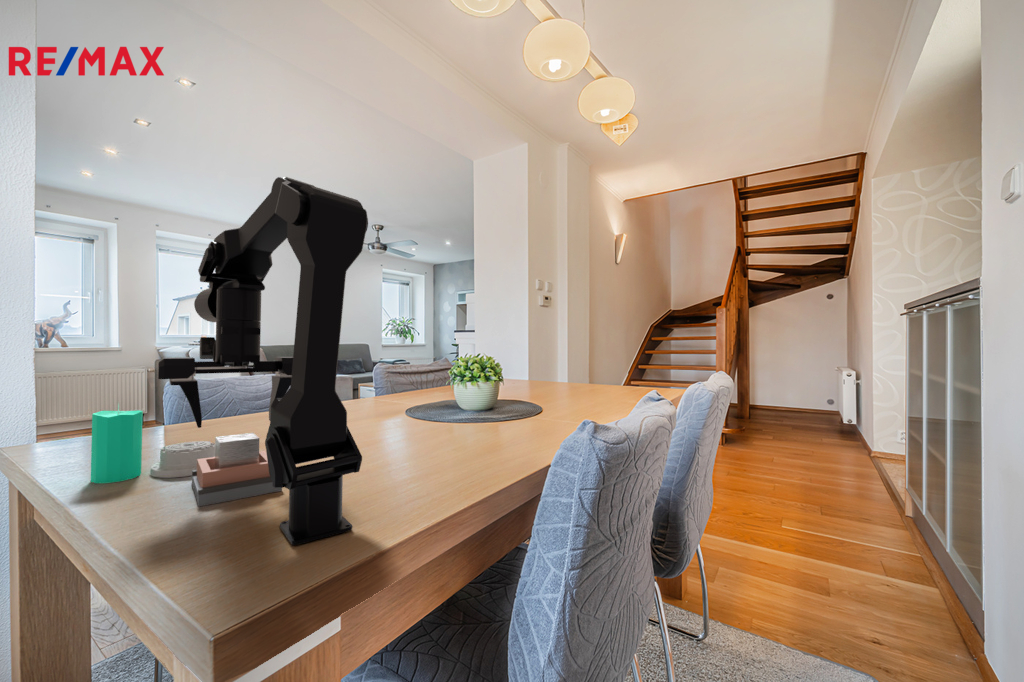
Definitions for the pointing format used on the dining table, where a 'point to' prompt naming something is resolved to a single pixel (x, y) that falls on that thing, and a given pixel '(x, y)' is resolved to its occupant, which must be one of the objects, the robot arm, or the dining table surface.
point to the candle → (116, 445)
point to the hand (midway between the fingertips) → (236, 423)
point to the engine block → (236, 450)
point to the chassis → (231, 481)
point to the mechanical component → (181, 458)
